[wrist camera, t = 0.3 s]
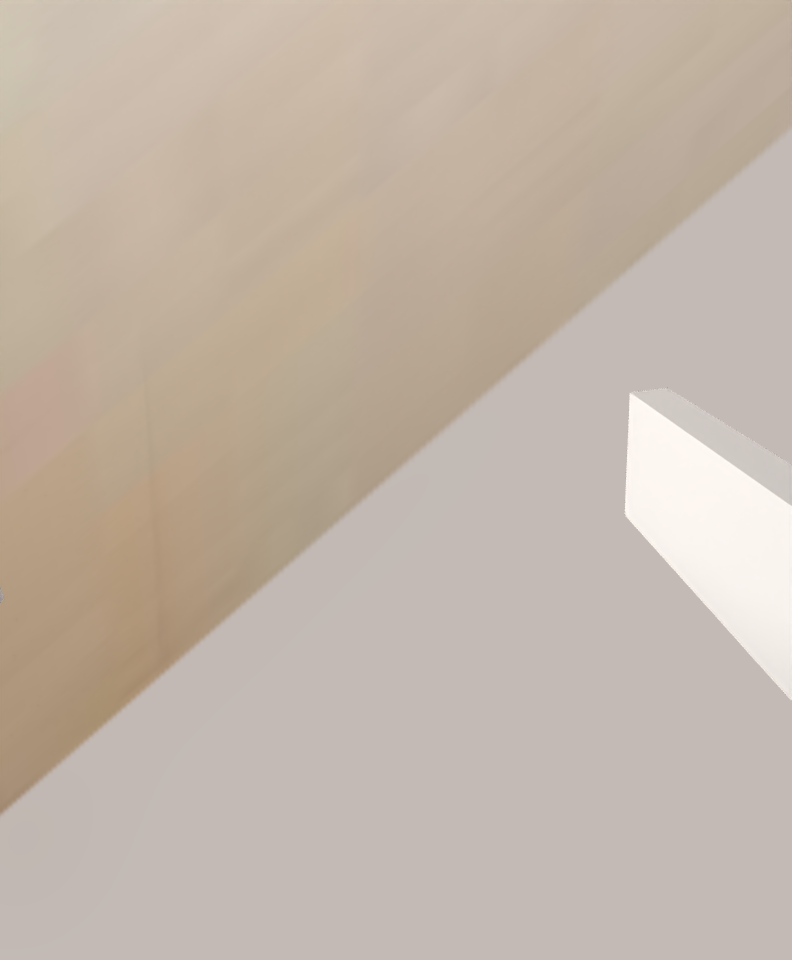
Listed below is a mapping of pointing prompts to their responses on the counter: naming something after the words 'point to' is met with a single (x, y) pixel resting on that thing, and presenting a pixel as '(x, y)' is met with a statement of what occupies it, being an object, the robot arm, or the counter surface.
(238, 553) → the counter surface
